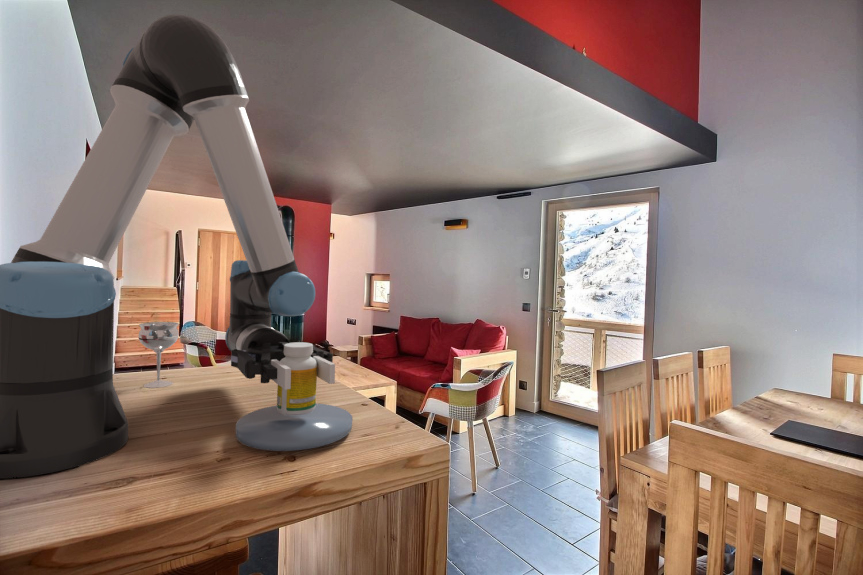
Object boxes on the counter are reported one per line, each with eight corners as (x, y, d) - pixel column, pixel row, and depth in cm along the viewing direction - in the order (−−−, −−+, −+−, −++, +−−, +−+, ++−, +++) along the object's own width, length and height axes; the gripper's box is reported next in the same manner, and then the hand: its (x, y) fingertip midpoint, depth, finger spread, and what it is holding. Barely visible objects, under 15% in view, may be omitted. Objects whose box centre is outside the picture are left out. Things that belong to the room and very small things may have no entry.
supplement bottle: (268, 412, 61) (270, 345, 60) (295, 402, 66) (296, 340, 65) (298, 418, 59) (300, 349, 58) (323, 408, 63) (325, 343, 63)
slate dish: (276, 469, 51) (276, 452, 51) (214, 433, 61) (214, 419, 61) (374, 433, 63) (374, 419, 63) (309, 408, 73) (310, 397, 73)
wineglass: (157, 390, 81) (158, 327, 80) (128, 387, 82) (129, 324, 82) (186, 381, 87) (187, 323, 87) (158, 378, 89) (159, 321, 88)
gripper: (313, 364, 82) (370, 394, 63) (205, 374, 71) (236, 415, 52) (314, 325, 82) (372, 344, 63) (206, 329, 71) (237, 354, 52)
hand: (310, 376), depth 58 cm, fingers open, 5 cm apart
